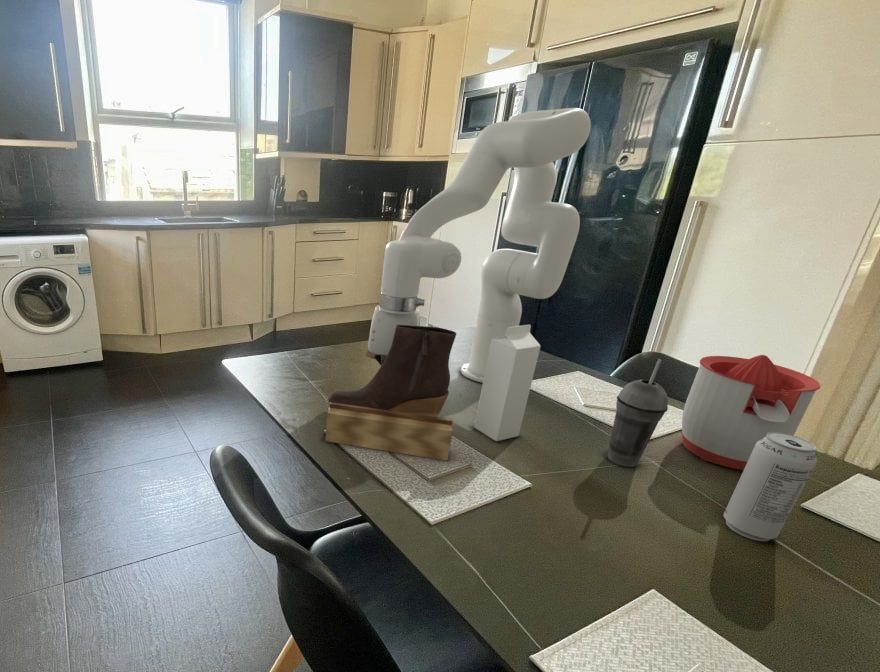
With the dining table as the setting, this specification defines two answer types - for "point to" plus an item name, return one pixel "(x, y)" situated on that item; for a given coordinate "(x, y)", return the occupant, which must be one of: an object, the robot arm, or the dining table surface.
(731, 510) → the energy drink can
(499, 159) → the robot arm
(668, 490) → the dining table surface
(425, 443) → the wooden block
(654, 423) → the beverage cup
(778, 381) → the citrus juicer
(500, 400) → the milk
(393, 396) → the boot
